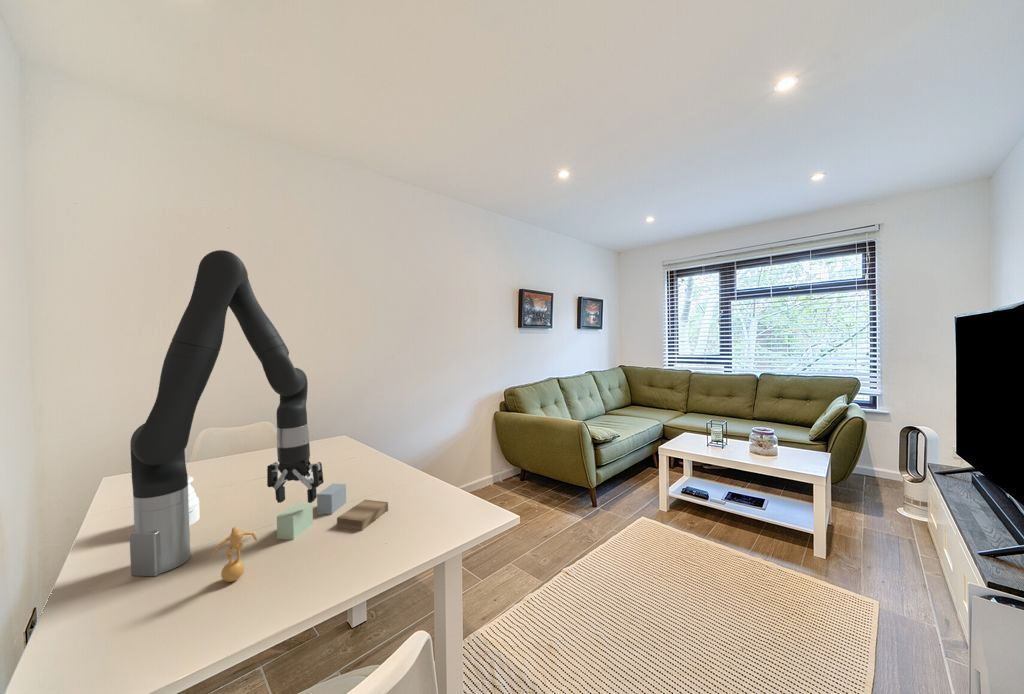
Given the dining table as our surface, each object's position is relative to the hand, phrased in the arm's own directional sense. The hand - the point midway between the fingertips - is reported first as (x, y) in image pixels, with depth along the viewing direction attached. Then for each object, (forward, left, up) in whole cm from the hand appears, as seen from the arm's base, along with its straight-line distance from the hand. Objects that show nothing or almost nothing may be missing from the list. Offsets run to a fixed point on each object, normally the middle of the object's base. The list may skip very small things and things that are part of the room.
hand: (296, 501), depth 101 cm
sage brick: (-1, 0, -8) cm, 8 cm away
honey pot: (+1, +39, -8) cm, 40 cm away
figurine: (-22, -1, -8) cm, 23 cm away
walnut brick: (+7, -15, -8) cm, 19 cm away
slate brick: (+13, -2, -8) cm, 16 cm away
